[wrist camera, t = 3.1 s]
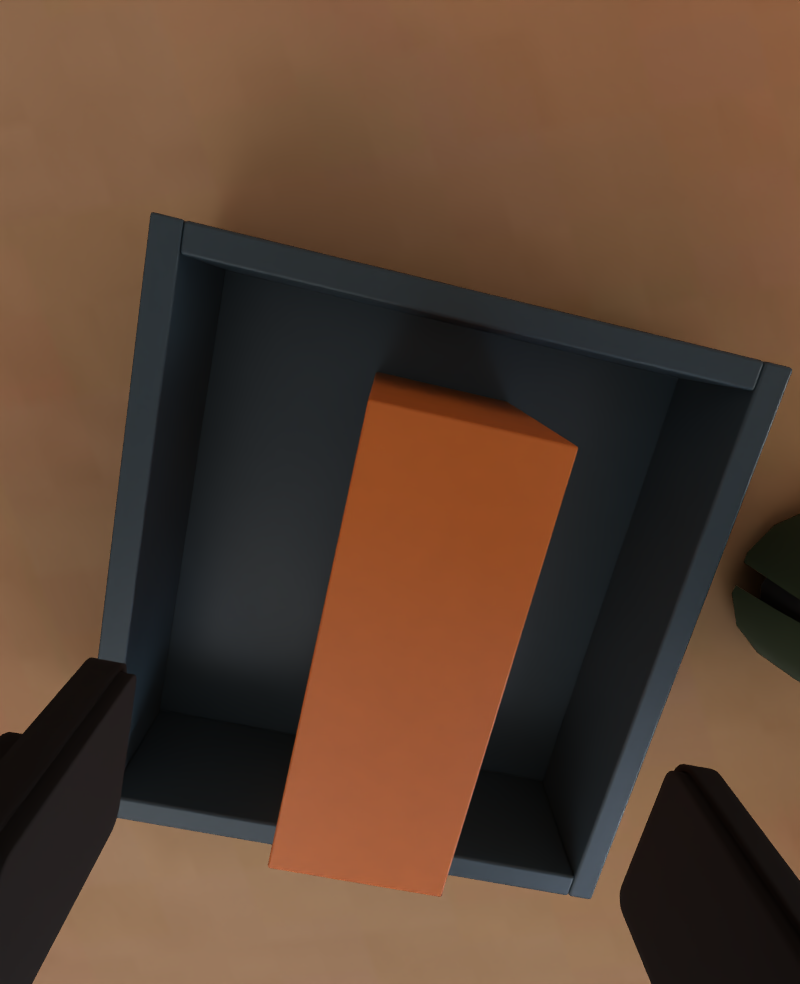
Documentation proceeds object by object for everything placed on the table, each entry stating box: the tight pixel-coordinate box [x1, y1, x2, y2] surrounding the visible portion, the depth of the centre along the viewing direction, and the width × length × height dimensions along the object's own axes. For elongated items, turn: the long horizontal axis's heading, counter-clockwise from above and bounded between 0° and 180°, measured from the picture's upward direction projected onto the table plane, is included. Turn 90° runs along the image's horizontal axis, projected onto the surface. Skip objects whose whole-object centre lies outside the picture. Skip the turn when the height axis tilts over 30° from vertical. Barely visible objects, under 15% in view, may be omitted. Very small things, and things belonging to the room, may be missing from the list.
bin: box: [98, 212, 792, 899], centre depth 20 cm, size 17×18×5 cm
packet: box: [268, 372, 578, 897], centre depth 18 cm, size 4×12×8 cm, turn 167°
